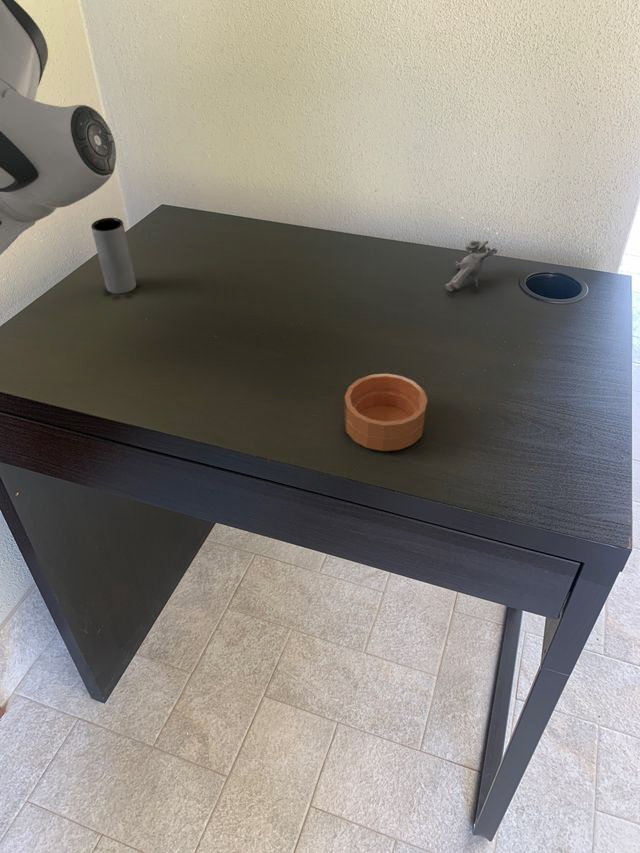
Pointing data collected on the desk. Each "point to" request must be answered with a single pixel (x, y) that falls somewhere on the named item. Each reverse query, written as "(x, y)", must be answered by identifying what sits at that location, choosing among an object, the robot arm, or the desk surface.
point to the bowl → (385, 412)
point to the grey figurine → (471, 263)
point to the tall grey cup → (114, 255)
